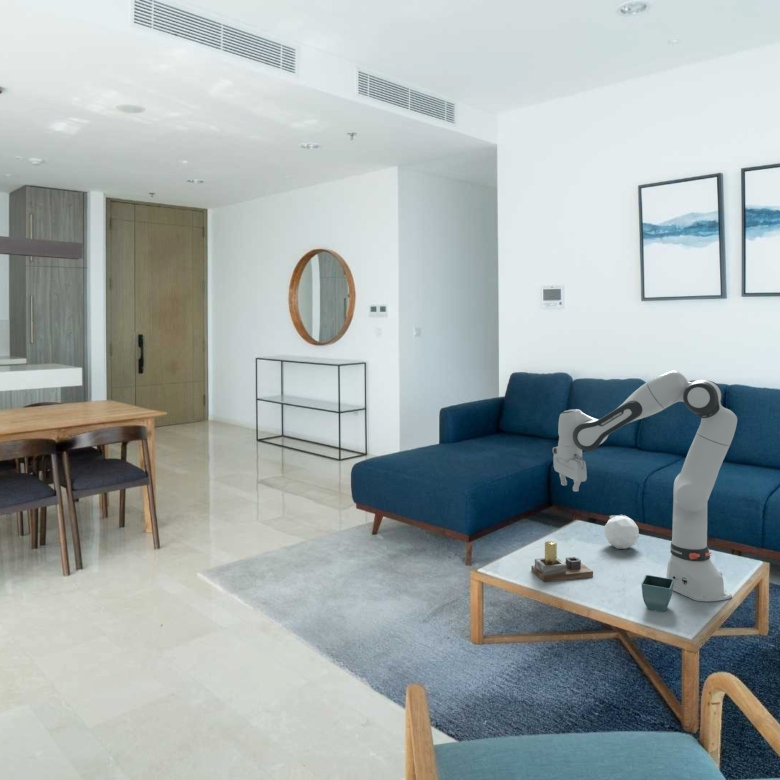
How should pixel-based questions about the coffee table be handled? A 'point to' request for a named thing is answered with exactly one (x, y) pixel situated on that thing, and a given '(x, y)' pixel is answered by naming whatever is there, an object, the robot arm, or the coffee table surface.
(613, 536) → the geodesic sphere
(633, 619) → the coffee table surface
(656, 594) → the flower pot
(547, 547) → the brass cylinder rod
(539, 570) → the board
